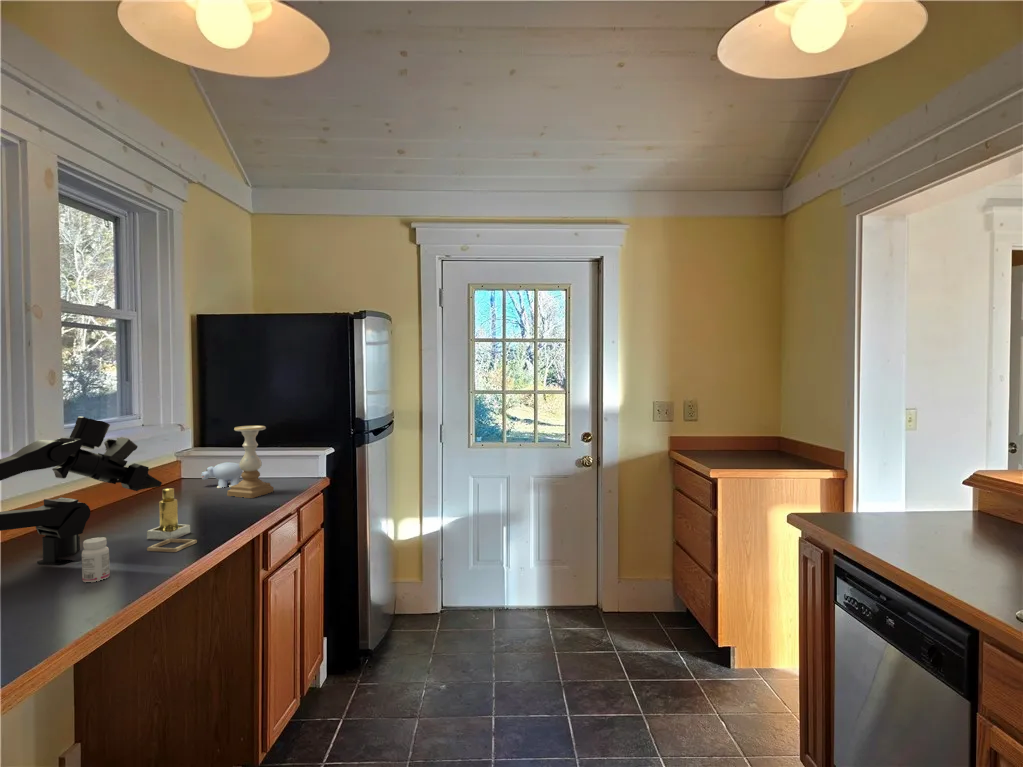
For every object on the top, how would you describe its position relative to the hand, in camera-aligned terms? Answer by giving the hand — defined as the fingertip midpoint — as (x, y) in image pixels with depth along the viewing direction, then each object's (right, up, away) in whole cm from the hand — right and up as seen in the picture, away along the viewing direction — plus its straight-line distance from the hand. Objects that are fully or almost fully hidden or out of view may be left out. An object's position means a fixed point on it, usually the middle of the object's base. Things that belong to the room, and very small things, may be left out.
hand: (151, 481), depth 152 cm
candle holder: (+3, -13, +52) cm, 54 cm away
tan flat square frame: (+13, -15, -12) cm, 23 cm away
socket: (+7, -15, -3) cm, 17 cm away
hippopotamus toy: (-14, -13, +67) cm, 69 cm away
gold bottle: (+7, -13, -3) cm, 15 cm away
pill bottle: (+7, -16, -30) cm, 34 cm away
